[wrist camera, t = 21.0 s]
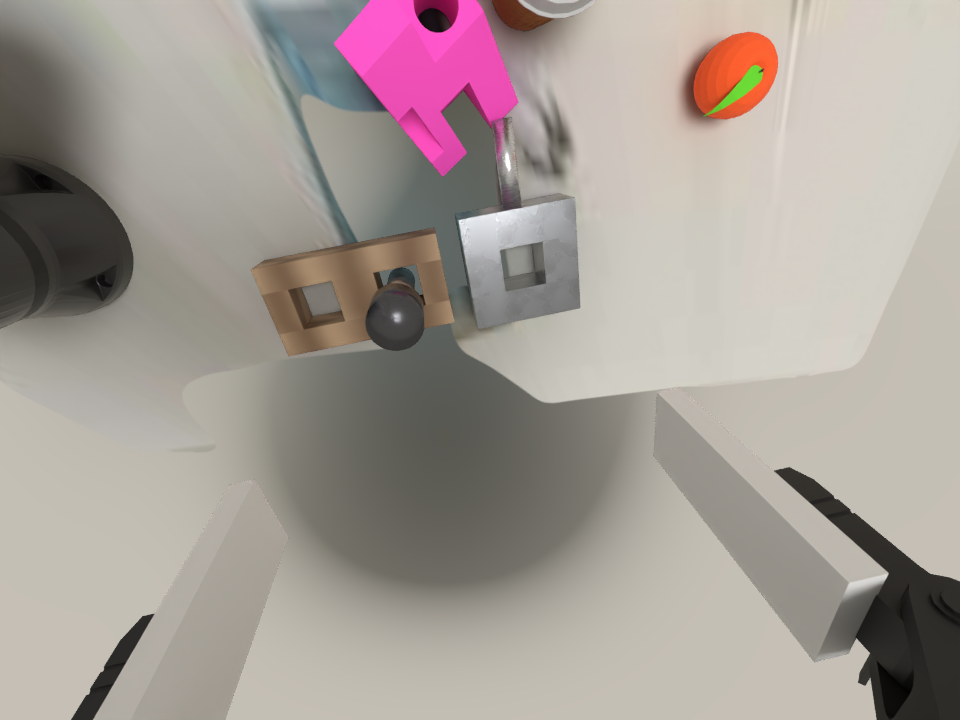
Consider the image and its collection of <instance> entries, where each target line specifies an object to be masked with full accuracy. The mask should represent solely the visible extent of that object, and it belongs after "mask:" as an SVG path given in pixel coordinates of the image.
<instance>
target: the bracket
mask: <svg viewBox="0 0 960 720" xmlns="http://www.w3.org/2000/svg"><path fill="white" fill-rule="evenodd" d="M428 8H435V9H438V10H440V11H441V12H443V13H444V14H445V15H446V16H447V18H448V20H449V22H450V25H451V28H449V29H448V30H447V31H444V32H442V33H435V32H431V31H429V30H427V29H426V28H424V26H423V25H422V24H421V23H420V22H419V20H418V16H419V15H420V13H421V12H423V11H424V10H426V9H428ZM334 45H335V46H336V47H337V48H338V50H339V51H340V52H341V54H342V55H343V56H344V57H345V59H346V60H347V61H348V62H349V63H350V65H351V67H352V68H353V69H354V71H355V72H356V73H357V74H358V75H359V77H360V78H361V79H362V80H363V81H364V83H365V84H366V85H367V86H368V87H369V89H370V90H371V91H372V92H373V93H374V95H375V96H376V97H377V98H378V100H379V101H380V102H381V103H382V104H383V106H384V107H385V108H386V109H387V110H388V112H389V113H390V114H391V115H392V116H393V118H394V119H395V120H396V121H397V122H398V124H399V125H400V126H401V127H402V128H403V130H404V131H405V132H406V133H407V135H408V136H409V137H410V138H411V139H412V141H413V142H414V143H415V144H416V145H417V147H418V148H419V149H420V150H421V151H422V153H423V154H424V155H425V156H426V157H427V159H428V160H429V161H430V162H431V164H432V165H433V166H434V167H435V168H436V170H437V171H438V172H439V173H440V174H441V176H444V175H445V174H446V173H447V172H448V171H449V170H450V169H451V168H452V167H453V166H454V165H455V164H456V163H457V162H458V161H459V160H460V159H461V158H462V157H463V156H464V155H465V154H467V152H466V150H465V149H464V147H463V146H462V145H461V143H460V141H459V140H458V138H457V137H456V135H455V134H454V132H453V130H452V129H451V127H450V126H449V124H448V123H447V121H446V120H445V118H444V117H443V115H442V112H443V111H444V110H445V109H446V108H447V107H448V106H449V105H450V104H451V103H452V102H453V100H454V99H455V98H456V97H457V96H458V95H459V94H460V93H461V92H462V91H464V92H465V93H466V95H467V96H468V97H469V99H470V100H471V101H472V103H473V104H474V106H475V107H476V108H477V110H478V111H479V113H480V114H481V115H482V117H483V118H484V120H485V121H486V122H487V124H488V125H489V126H490V128H492V122H491V121H493V120H498V119H502V118H503V117H504V116H505V115H506V114H507V113H508V112H509V111H510V110H511V109H512V108H513V107H514V106H515V105H516V104H517V103H518V100H517V97H516V95H515V92H514V89H513V87H512V84H511V81H510V79H509V76H508V74H507V71H506V68H505V66H504V63H503V60H502V58H501V55H500V53H499V50H498V47H497V45H496V42H495V39H494V37H493V34H492V32H491V29H490V26H489V24H488V21H487V18H486V16H485V13H484V11H483V9H482V8H481V6H480V5H479V3H478V1H477V0H371V1H370V2H369V3H368V4H367V5H366V7H365V8H364V9H363V10H362V11H361V12H360V14H359V15H358V16H357V17H356V18H355V19H354V21H353V22H352V23H351V24H350V25H349V26H348V28H347V29H346V30H345V31H344V32H343V33H342V35H341V36H340V37H339V38H338V39H337V40H336V42H335V43H334Z"/></svg>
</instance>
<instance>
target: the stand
mask: <svg viewBox="0 0 960 720" xmlns="http://www.w3.org/2000/svg"><path fill="white" fill-rule="evenodd" d="M415 264H416V266H417V271H418V275H419V279H420V283H421V287H422V291H423V295H420V297H421V299H422V301H423V305H424V328H429V327H433V326H438V325H444V324H448V323H453V322H454V318H453V313H452V309H451V304H450V299H449V294H448V290H447V285H446V280H445V275H444V271H443V266H442V261H441V256H440V252H439V247H438V242H437V237H436V233H435V228H429V229H424V230H419V231H414V232H408V233H403V234H398V235H393V236H388V237H383V238H378V239H373V240H367V241H362V242H357V243H352V244H347V245H341V246H336V247H331V248H326V249H321V250H316V251H311V252H305V253H300V254H295V255H290V256H285V257H280V258H275V259H269V260H264V261H263V262H261V263H260V264H258V265H257V266H255V267H254V268H252V269H251V272H252V274H253V276H254V278H255V281H256V283H257V285H258V288H259V290H260V292H261V294H262V297H263V299H264V301H265V303H266V306H267V308H268V310H269V313H270V315H271V317H272V319H273V322H274V324H275V326H276V328H277V331H278V333H279V335H280V338H281V340H282V342H283V344H284V347H285V349H286V351H287V353H288V356H292V355H297V354H302V353H307V352H312V351H317V350H322V349H327V348H331V347H336V346H341V345H346V344H351V343H356V342H361V341H366V340H370V339H371V338H370V337H369V335H368V333H367V330H366V326H365V319H366V315H367V312H368V309H369V306H370V303H371V300H372V297H373V296H374V294H375V293H376V291H377V290H378V289H380V288H381V287H383V285H382V281H381V277H380V274H379V272H380V271H385V270H390V269H395V268H400V267H405V266H410V265H415ZM329 281H332V284H333V287H334V290H335V293H336V296H337V298H338V301H339V304H340V307H341V310H342V311H339V312H334V313H329V314H324V315H319V316H314V317H312V314H311V312H310V309H309V306H308V304H307V301H306V299H305V296H304V294H303V291H302V288H301V287H304V286H309V285H314V284H319V283H324V282H329Z"/></svg>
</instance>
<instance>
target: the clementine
mask: <svg viewBox="0 0 960 720" xmlns="http://www.w3.org/2000/svg"><path fill="white" fill-rule="evenodd" d="M777 68H778V57H777V53H776V50H775V47H774V45H773V44H772V42H771V41H770V40H769V39H768V38H766V37H765V36H763V35H761V34H758V33H753V32H745V33H740V34H735V35H732V36H730V37H728V38H727V39H725V40H723V41H721V42H720V43H718V44H717V45H716V46H715V47H714V48H713V49H712V50H710V52H709V53H708V54H707V56H706V57H705V58H704V60H703V61H702V63H701V64H700V66H699V68H698V70H697V73H696V76H695V80H694V90H693V92H694V98H695V101H696V103H697V106H698V107H699V108H700V109H701V111H702V112H703V113H705V114H706V115H704V116H709V117H711V118H717V119H730V118H735V117H738V116H741V115H743V114H744V113H746V112H748V111H750V110H751V109H752V108H753V107H755V106H756V105H757V104H758V103H759V102H760V101H762V99H763V98H764V97H765V96H766V94H767V93H768V92H769V90H770V88H771V86H772V84H773V82H774V79H775V76H776V73H777ZM704 116H703V117H704Z"/></svg>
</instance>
